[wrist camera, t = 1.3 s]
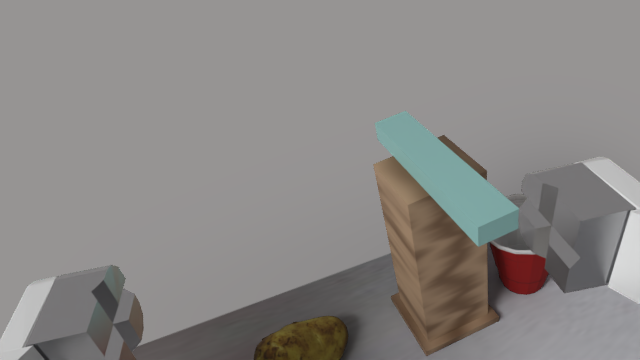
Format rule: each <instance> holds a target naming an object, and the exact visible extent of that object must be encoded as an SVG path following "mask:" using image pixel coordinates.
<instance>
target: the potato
mask: <svg viewBox="0 0 640 360" xmlns="http://www.w3.org/2000/svg"><path fill="white" fill-rule="evenodd" d="M347 341H348V331H347V327H346V325H345V324H344V322H343V321H341V320H340V319H339V318H337V317H334V316H323V317H318V318H313V319H309V320H305V321H301V322H293V323H292V324H290V325H287V326H285V327H283V328H282V329H281V330H279V331H277V332H275V333H273V334H270V335H269V336H267V337H265V338H263V339H262V341H261V342H260V343H259V344H258V345H257V348H256V351H255V354H254V360H340V358H341V357H342V355H343V353H344V350H345V347H346V344H347Z"/></svg>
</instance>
